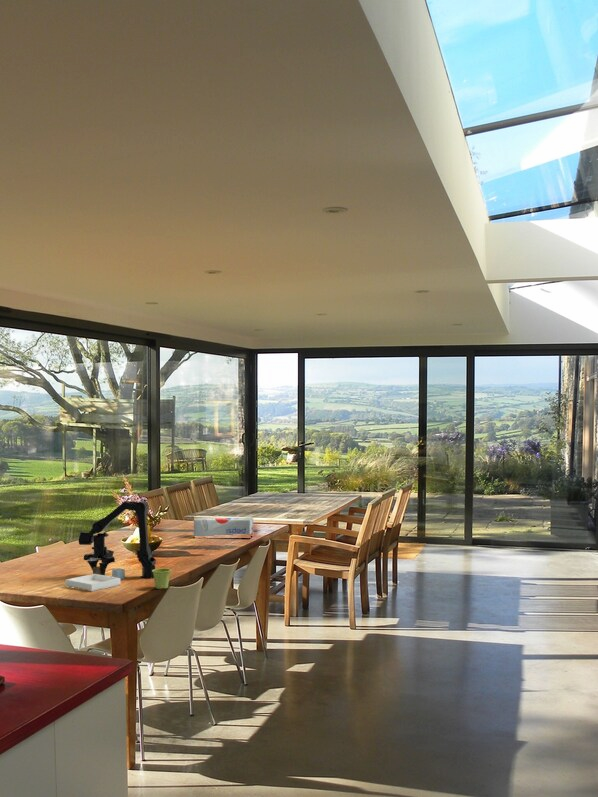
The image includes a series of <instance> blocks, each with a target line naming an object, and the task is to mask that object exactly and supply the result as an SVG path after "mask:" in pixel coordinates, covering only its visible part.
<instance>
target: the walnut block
mask: <svg viewBox="0 0 598 797" xmlns="http://www.w3.org/2000/svg"><path fill="white" fill-rule="evenodd" d="M92 574H99V575H102V574H101V570H100V565H97V567H93V570H92ZM104 575H105V576H106V572H105V573H104Z"/></svg>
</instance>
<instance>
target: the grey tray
mask: <svg viewBox="0 0 598 797" xmlns="http://www.w3.org/2000/svg"><path fill="white" fill-rule="evenodd" d="M64 581H65V585H64V586H69V587H68V588H70V587H74V588H73V589H75V588H79V589H78V590H80V589H84V590H83V591H85V590H88V591H87V592H90V591H93V592H97V591H101V590H100V589H102V590H105V588H106V589H110V588H109V587H111V588H114V586H115V587H119V586H121V580H120V578H116V577H112V576H109V575H106V574H105V575H99V574H93V573H91V574H87V575H81V576H77V577H72V578H68V579H65V580H64ZM96 590H97V591H96Z"/></svg>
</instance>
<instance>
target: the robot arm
mask: <svg viewBox="0 0 598 797" xmlns="http://www.w3.org/2000/svg"><path fill="white" fill-rule="evenodd" d="M126 510H129V511H134V512H135V516H136V518H137V522H138V534H139V535H138V536H139V548H138V549H137V550H136V555H137V556H136V559H138V562H139V563H140V564H141V566H142V571H141V574H142V575H141V576H139V578H142V577H143V579H148V578H149V579H154V578H153V577H154V575H153V572H152V570H154V569H156V565H155V564H156V563H157V559H155V557H154V556H153V554H152V549H151V547H150V545H149V535H148V534H149V533H148V522H147V519H148V513H149V503H148V502H147V501H145V500H144V501H143V500H142V501H129V500H125V501H123V502H121V504H119V506H117V507H116V508H115V509H113V510H112V511H111V512H110V513H109V514H107V515H106V516H104V517H103V518H101V519H99V520H97V521H95V522H94V523H93V524H92V528H91V529H90V531H89V532H88V531H87V532H86V531H80V534H79V537H78V545H79V546H82V545H83V546H91V545H92V544H93V546H92V547H91V550H93V552H92V553H85V554H84V556H83V561H86V562H87V564H88V565H89V566H90V568H91V570H92V571H93V567H98V566H100V570H101V574H102V575H104V573H105V574H106V570H107V568H108V566H109V565H110V564H111V563H115V562H116V561H115V557H114V550H112V549H111V550H110V549H108V548H107V546H105V544H106V540H105V539H106V538H107V537H108V536H110V535H109V534H108V533H107V532H106V531H105V530H107V528H108V527H109V525H110V524H111V523H112V522H114V520H115V519H117V517H119V516H120V515H122V514H123V513H124V512H125V511H126ZM103 531H104V532H103ZM102 532H103V533H102ZM99 561H101V562H99ZM98 562H99V565H98Z"/></svg>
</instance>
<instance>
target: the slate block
mask: <svg viewBox="0 0 598 797" xmlns="http://www.w3.org/2000/svg"><path fill="white" fill-rule="evenodd" d="M125 571H126V569H125V568H118V567H117V568H114V569H112V571H111V575H112V576H111V577H116V578H120V581H121V580H124V579H125V575H126V572H125Z"/></svg>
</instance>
